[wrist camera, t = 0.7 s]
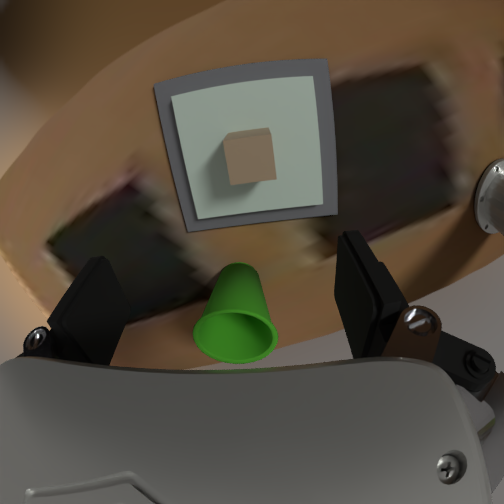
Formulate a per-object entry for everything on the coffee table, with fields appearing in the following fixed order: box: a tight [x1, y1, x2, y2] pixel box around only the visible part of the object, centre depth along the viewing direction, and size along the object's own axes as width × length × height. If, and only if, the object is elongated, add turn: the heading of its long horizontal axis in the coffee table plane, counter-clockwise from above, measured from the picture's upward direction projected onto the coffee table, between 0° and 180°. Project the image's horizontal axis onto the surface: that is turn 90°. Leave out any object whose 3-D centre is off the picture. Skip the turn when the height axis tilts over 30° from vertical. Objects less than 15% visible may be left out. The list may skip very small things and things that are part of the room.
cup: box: [193, 262, 278, 364], centre depth 33 cm, size 9×9×11 cm
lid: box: [171, 76, 323, 219], centre depth 25 cm, size 14×14×6 cm
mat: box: [154, 59, 338, 232], centre depth 28 cm, size 18×18×1 cm
